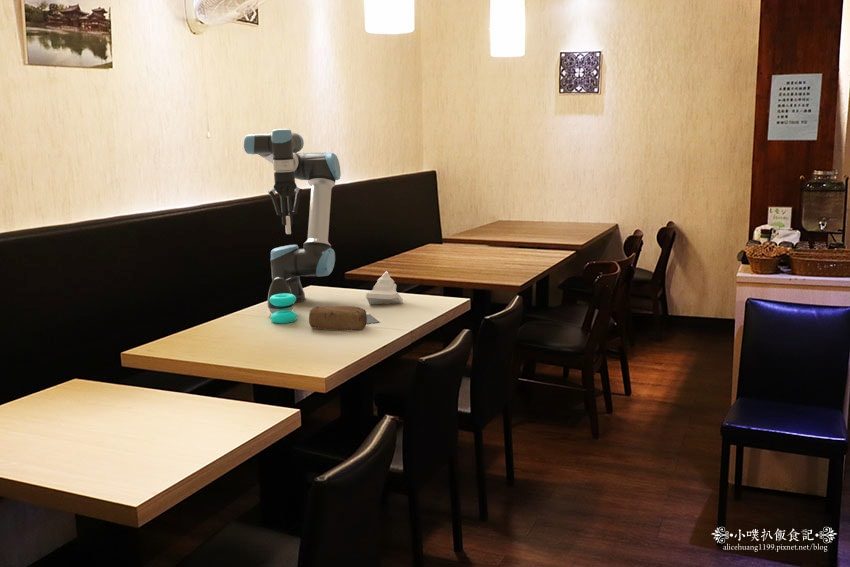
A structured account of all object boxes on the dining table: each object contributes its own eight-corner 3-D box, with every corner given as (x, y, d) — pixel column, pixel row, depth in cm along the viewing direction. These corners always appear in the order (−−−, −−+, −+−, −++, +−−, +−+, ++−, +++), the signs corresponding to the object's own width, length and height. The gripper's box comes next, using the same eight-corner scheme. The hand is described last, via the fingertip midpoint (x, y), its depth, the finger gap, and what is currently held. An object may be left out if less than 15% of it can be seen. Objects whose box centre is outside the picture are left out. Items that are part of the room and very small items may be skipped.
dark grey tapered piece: (298, 315, 310) (295, 277, 307) (272, 318, 306) (269, 280, 303) (290, 310, 319) (288, 273, 316) (265, 313, 315) (262, 276, 312)
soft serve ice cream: (366, 305, 332) (367, 271, 333) (401, 306, 333) (403, 273, 334) (366, 303, 320) (367, 268, 321) (403, 305, 321) (404, 270, 322)
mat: (316, 320, 301) (316, 319, 301) (369, 314, 308) (369, 314, 308) (324, 328, 288) (324, 328, 288) (380, 322, 295) (380, 321, 295)
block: (307, 329, 286) (361, 332, 283) (307, 309, 284) (361, 312, 281) (316, 322, 296) (368, 325, 293) (316, 302, 294) (368, 305, 292)
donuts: (301, 295, 299) (278, 299, 293) (302, 320, 301) (279, 325, 295) (286, 291, 307) (264, 295, 300) (288, 316, 309) (265, 321, 302)
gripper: (268, 172, 289) (273, 236, 295) (303, 170, 294) (307, 233, 299) (264, 171, 296) (269, 233, 302) (298, 169, 301) (302, 230, 306)
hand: (288, 233), depth 301 cm, fingers closed
